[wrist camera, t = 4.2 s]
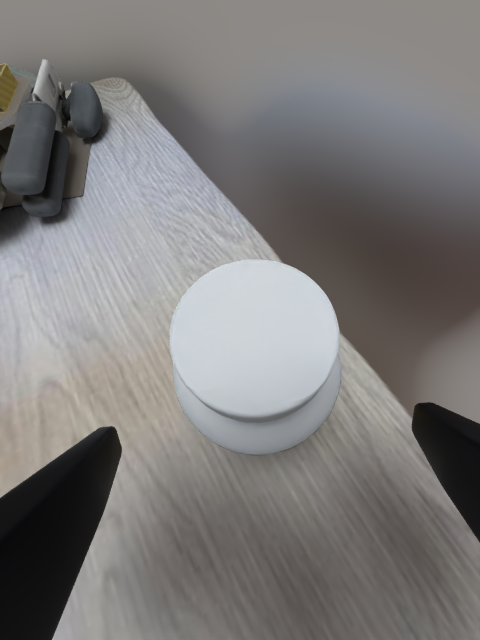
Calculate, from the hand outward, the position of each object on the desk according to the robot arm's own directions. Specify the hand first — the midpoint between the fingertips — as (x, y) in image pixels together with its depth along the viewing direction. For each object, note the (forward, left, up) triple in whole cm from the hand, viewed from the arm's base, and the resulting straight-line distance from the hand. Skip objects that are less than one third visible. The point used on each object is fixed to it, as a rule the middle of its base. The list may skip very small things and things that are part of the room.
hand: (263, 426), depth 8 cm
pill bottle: (+2, -2, -10) cm, 10 cm away
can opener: (+35, -7, -6) cm, 36 cm away
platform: (+39, -7, -10) cm, 41 cm away
